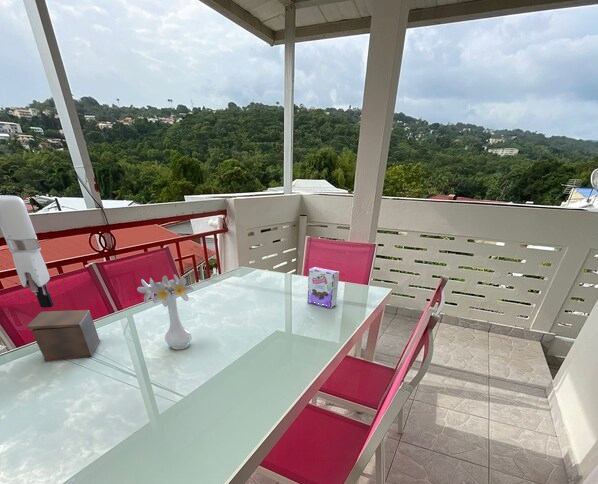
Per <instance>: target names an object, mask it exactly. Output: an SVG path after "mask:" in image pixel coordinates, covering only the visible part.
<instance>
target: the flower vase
mask: <svg viewBox="0 0 598 484" xmlns="http://www.w3.org/2000/svg"><path fill="white" fill-rule="evenodd" d="M168 278H169V277H168V276H167V275H163V276H162V278H161V281H158V282H155V281H154V280H153V279H152V277H149V284H148V283H147V282H146V281H145V280H144V279H143V278H141V279H140V283H141V285H142V286H138V287H137V288H136V290H137V292H138V293H140V294H143V295H144V296H143V301H144V302H145V303H148V301H149V299H151V300H152V302H153V304H157V303H160V302H161V304H162V305H163V307H164V308H167V310H168V316H169V327H168V329H167V331H166V333H165V335H164V341H165V343H166V344H167V345H168V346H170V348H171V349H173V350H177V351H178V350H185V349H187V348H188V347H189V345H190V343H191V341H192V340H193V335H192V333H191V332H190V331H189V330H188V329H187V328H185V327H184V325H183V323H182V322H181V319H180V315H179V311H178V306H177V305H178V304H177V298H179V297H181V299H182V300H183V301H185V302H188V301H189V296H188V294H189V293H193V291H194V288H193V287H192V286H188V285H186V284H187V279H186V278H185V277H183V276H182V277H180V278H179V277H178V275H176V274H175V273H174V274H173V279H168ZM154 294H155V295H154Z"/></svg>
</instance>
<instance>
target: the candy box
mask: <svg viewBox="0 0 598 484" xmlns="http://www.w3.org/2000/svg"><path fill="white" fill-rule="evenodd" d="M339 279H340V271H337V270H333V269H332V270H331V269H328V268H327V269H326V268H322V267H317V266H314V267H311V268H309V269H308V281H307V304H311V305H316V306H320V307H322V308H323V307H324V308H328V309H332V308H335V307H336V306H337V297H338V289H339ZM310 301H311V302H310ZM314 302H315V303H314ZM318 303H319V304H318ZM322 304H324V305H322ZM334 304H335V305H334ZM326 305H327V306H326Z"/></svg>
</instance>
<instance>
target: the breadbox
mask: <svg viewBox="0 0 598 484" xmlns="http://www.w3.org/2000/svg"><path fill="white" fill-rule="evenodd" d="M31 333H32V335H33V337H34V339H35V342H36V343H37V346H38V348H39V350H40V352H41V354H42V356H43V359H44V361H45V362H53V361H65V360H75V359H84V358H86V359H87V358H92V357H93V355H94V353H95V352H96V349H97V347H98V345H99V343H100V337H99V334H98V332H97V328H96V326H95V323H94V320H93V317H92V314H91V312H90V313H89V314H88V316H87V317H86V319H85V320H84V322H83V323H82V325H81V326H80V327H62V328H41V329H31Z"/></svg>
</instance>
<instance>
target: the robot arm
mask: <svg viewBox="0 0 598 484" xmlns="http://www.w3.org/2000/svg"><path fill="white" fill-rule="evenodd" d="M0 230H1V233H2V235H3V238H4V240H5V242H6V245H7V247H8V250H9V252H10V253H11V256H12V260H13V264H14V266H15V267H14V268H15V270H16V273H17V276H18V278H19V281H20V284H21V286H22V287H23V288H28V287H29V288H30V291H31V293H34V295H35V296H36V299H37V301H38V304H39V306H40V308H41V309H43V308H44V309H45V308H52V307H54V306H55V305H54V302H53V299H52V297H51V296H52V295H51V293H50V289H49V286H48V283H49V281H50V280H51V276H50V273H49V270H48V267H47V264H46V263H45V260H44V257H43V255H42V253H41V251H42V248H41V247H42V246H41V245H40V242H39V238H38V237H37V234H36V231H35V227H34V226H33V222H32V220H31V217H30V214H29V211H28V209H27V205H26V203H25V201H24V200H23V199H22V198H21V197H20V196H18V195H5V194H4V195H1V194H0Z"/></svg>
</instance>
